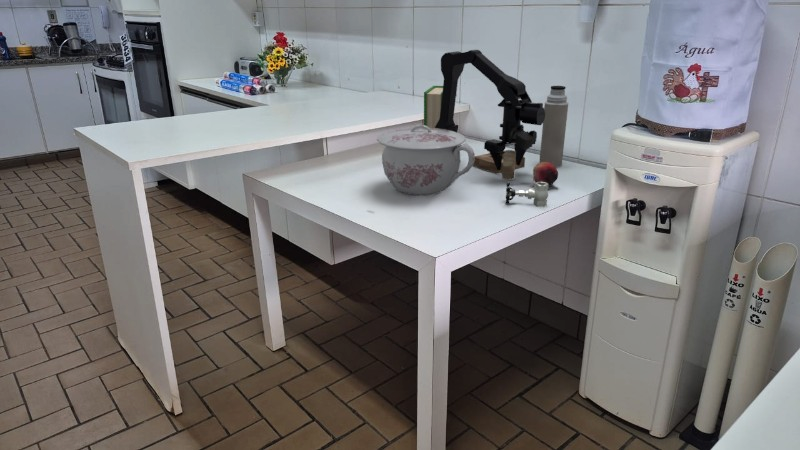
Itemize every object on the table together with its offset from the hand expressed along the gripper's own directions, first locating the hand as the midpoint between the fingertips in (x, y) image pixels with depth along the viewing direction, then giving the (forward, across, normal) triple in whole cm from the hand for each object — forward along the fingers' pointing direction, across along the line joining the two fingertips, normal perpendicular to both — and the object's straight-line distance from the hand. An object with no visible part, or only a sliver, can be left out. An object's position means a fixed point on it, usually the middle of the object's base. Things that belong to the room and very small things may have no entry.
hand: (508, 167), depth 185 cm
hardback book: (+4, +5, +44) cm, 44 cm away
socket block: (+4, +7, +11) cm, 14 cm away
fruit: (+4, +2, -14) cm, 15 cm away
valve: (+4, -15, -22) cm, 26 cm away
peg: (+4, 0, 0) cm, 4 cm away
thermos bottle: (+4, +24, +2) cm, 24 cm away
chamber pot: (+4, -31, +8) cm, 32 cm away
